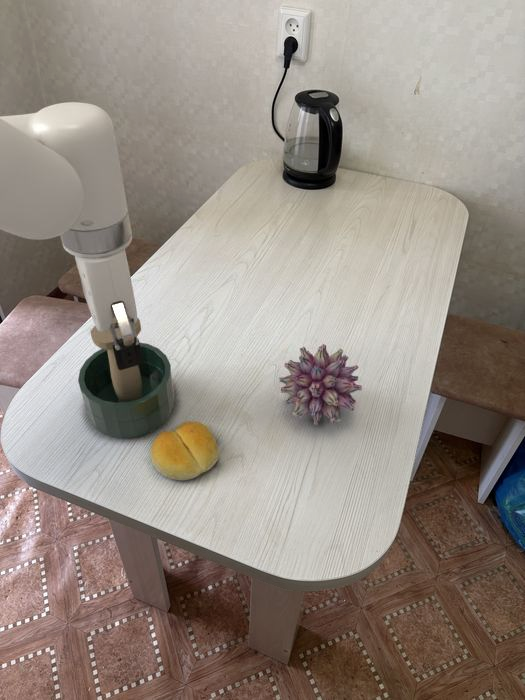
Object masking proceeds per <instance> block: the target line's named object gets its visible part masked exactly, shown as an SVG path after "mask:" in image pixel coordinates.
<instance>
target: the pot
mask: <svg viewBox="0 0 525 700" xmlns="http://www.w3.org/2000/svg"><path fill="white" fill-rule="evenodd" d="M140 348H141V353H142V358H143V363H142V364H140V365H138V367H139V371H140V375H141V382H142V398H140V399H137V400H134V401H130V402H119V398H118V397H117V394H116V392H115V389H114V386H113V382H112V378H111V371H110V364H109V358H108V352H107V350H105V349H101V348H100V349H99V350H97V351H95V352H93V354H91V355H90V356H89V357H87V358H86V360H85V361H84V363H83V365H82V366H81V368H80V369H79V373H78V379H77V382H78V385H79V389H80V393H81V395H82V399H83V402H84V404H85V407H86V412H87V414H88V418H89V421H90V423H91V424H92V426H93V427H94V428H95V429H96V430H97V431H99V432H100V433H102V434H103V435H105V436H108V437H111V438H115V439H135V438H140V437H143V436H146V435H149V434H150V433H153V432H155V431H156V430H158V429H159V428H161V427H162V426H163V425H164V424H165V423H166V422H167V421H168V420H169V418H170V417H171V415H172V413H173V411H174V408H175V390H174V389H175V388H174V381H173V373H172V366H171V365H172V364H171V362H170V360H169V358H168V356H167V355H166V354H165V353H164V352H163V351H162V350H161V349H160V348H158V347H156V346H154V345H152V344H150V343H146V342H140Z"/></svg>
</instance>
